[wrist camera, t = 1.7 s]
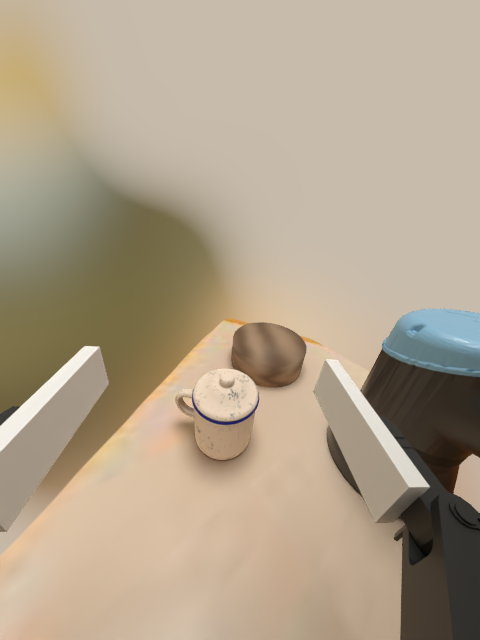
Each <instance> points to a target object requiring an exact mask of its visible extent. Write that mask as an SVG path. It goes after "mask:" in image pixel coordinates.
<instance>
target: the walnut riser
mask: <svg viewBox="0 0 480 640" xmlns="http://www.w3.org/2000/svg"><path fill="white" fill-rule="evenodd" d="M305 354H306V344H305V342H304V341H303V339H302V338H301V337H300V336H299V335H298V334H296V333H295V332H293V331H292V330H290V329H288V328H285V327H283V326H280V325H276V324H271V323H251V324H247V325H244V326H242V327H240V328H239V329H238V330H237V331H236V332H235V333H234V336H233V347H232V359H231V360H232V365H233V367H234V369H235V370H238V371H240V372H242V373H244V374H246V375H247V376H249V377H250V378H251V379H252V380H253V382H254V383H255V384H256V385H260V386H264V387H282V386H286V385H288V384H290V383H292V382H294V381H295V380H296V379H297V378H298V376H299V374H300V370H301V367H302V364H303V360H304V357H305Z"/></svg>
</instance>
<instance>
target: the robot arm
mask: <svg viewBox="0 0 480 640" xmlns="http://www.w3.org/2000/svg"><path fill="white" fill-rule="evenodd" d="M108 384H109V382H108V378H107V374H106V370H105V367H104V362H103V358H102V355H101V351H100V347H91V346H84V347H83V348H82V349H81V350H80V351H79V352H78V353H77V354H76V355H75V356H74V357H73V358H72V359H71V360H70V361H68V362H67V363H66V364H65V365H64V366H63V367H62V368H61V369H60V370H59V371H58V372H57V373H56V374H55V375H54V376H53V377H52V378H51V379H49V380H48V381H47V382H46V383H45V384H44V385H43V386H42V387H41V388H40V389H39V390H38V391H37V392H36V393H35V394H34V395H33V396H32V397H31V398H30V399H28V400H27V401H26V402H25V403H24V404H23V405H22V406H21V407H14V406H13V407H11V408H9V409H8V410H6V411H5V412H3V413H1V414H0V532H5V531H7V530H8V529H9V528H10V526H11V525H12V523H13V522H14V520H15V519H16V518H17V516H18V515H19V513H20V512H21V510H22V509H23V507H24V506H25V505H26V503H27V502H28V500H29V499H30V497H31V496H32V494H33V493H34V491H35V490H36V489H37V487H38V486H39V484H40V483H41V481H42V480H43V478H44V477H45V475H46V474H47V473H48V471H49V470H50V468H51V467H52V465H53V464H54V462H55V461H56V460H57V458H58V457H59V455H60V454H61V452H62V451H63V449H64V448H65V446H66V445H67V444H68V442H69V440H70V439H71V438H72V436H73V435H74V433H75V432H76V431H77V429H78V428H79V426H80V424H81V423H82V422H83V420H84V419H85V417H86V416H87V415H88V413H89V412H90V410H91V409H92V407H93V406H94V404H95V403H96V401H97V400H98V399H99V397H100V396H101V394H102V393H103V391H104V390H105V388H106V387H107V386H108ZM313 392H314V394H315V396H316V398H317V400H318V402H319V405H320V407H321V409H322V411H323V413H324V415H325V417H326V419H327V422H328V424H329V426H328V430H327V440H328V445H329V449H330V452H331V454H332V457H333V459H334V461H335V463H336V465H337V466H338V468H339V469H340V471H341V472H342V474H343V475H344V476H345V478H346V479H347V480H348V481H349V483H350V484H351V485H352V486H353V487H354V488H355V489H356V490H357V491H358V492H359V493H360V494H361V495H362V496H363V498H364V500H365V502H366V505H367V507H368V509H369V511H370V513H371V515H372V517H373V520H374V522H375V523H390V522H394V521H395V520H396V519H397V518H401V519H403V521H404V522H405V524H406V525H404V526H403V527H402V528H401V529H400V530H399V531H398V532H397V533H395V537H394V539H395V540H396V541H398V540H399V539H400V538H402V537H403V544H402V545H403V547H402V591H401V635H400V640H480V513H478V512H477V511H476V510H475V509H474V508H473V507H472V506H471V505H470V504H469V503H468V502H466V501H465V500H463V499H462V498H461V497H458V496H457V495H454V494H453V493H454V492H453V491H454V488H455V483H456V479H457V475H458V470H459V465H460V464H461V463H462V462H463V461H464V460H465V459H466V458H467V457H468V456H470V455H471V454H474V455H476V456H478V457H479V458H480V313H475V312H468V311H461V310H451V309H423V310H417V311H413V312H410V313H408V314H406V315H404V316H402V317H401V318H400V319H399V320H398V321H397V323H396V325H395V326H394V328H393V330H392V331H391V333H390V335H389V336H388V337H387V338H386V339H385V340H384V341H383V344H382V350H381V352H380V354H379V356H378V358H377V360H376V362H375V364H374V366H373V368H372V370H371V371H370V373H369V375H368V377H367V379H366V381H365V383H364V384H363V386H362V389H361V390H359V389H358V387H357V386H356V385H355V383H354V382H353V381H352V379H351V378H350V377H349V375H348V374H347V372H346V371H345V370H344V368H343V367H342V366H341V364H340V363H339V361H338V360H330V359H325V362H324V365H323V367H322V370H321V373H320V375H319V378H318V381H317V383H316V386H315V389H314V391H313Z"/></svg>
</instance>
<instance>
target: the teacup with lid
mask: <svg viewBox="0 0 480 640" xmlns="http://www.w3.org/2000/svg"><path fill="white" fill-rule="evenodd" d="M182 397H189V398H192V402H193V406H194V409H193V408H191V407H189V406H188V405H187V404H186V403H185V402H184V401H183V398H182ZM258 403H259V393H258V389H257V387H256V385H255V383H254V382H253V380H252V379H251V378H250V377H249V376H247V375H246V374H244V373H242V372H240V371H238V370H234V369H226V368H224V369H216V370H213V371H210V372H208V373H206V374H205V375H203V376H202V377H201V378H200V379H199V380H198V381H197V383H196V385H195V387H194V389H193V390H192V389H182V390H180V391H179V392H178V394H177V395H176V404H177V406H178V408H179V409H180V410H181V411H182V412H183V413H184V414H186V415H188V416H190V417H194V423H195V439H196V442H197V445H198V447H199V448H200V450H201V451H202V452H203V453H204V454H206V455H207V456H209V457H211V458H213V459H217V460H227V459H231V458H234V457H236V456H238V455H239V454H240V453H242V452H243V451H244V450H245V448H246V447H247V445H248V443H249V440H250V436H251V431H252V425H253V420H254V414H255V410H256V408H257V406H258Z"/></svg>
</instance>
